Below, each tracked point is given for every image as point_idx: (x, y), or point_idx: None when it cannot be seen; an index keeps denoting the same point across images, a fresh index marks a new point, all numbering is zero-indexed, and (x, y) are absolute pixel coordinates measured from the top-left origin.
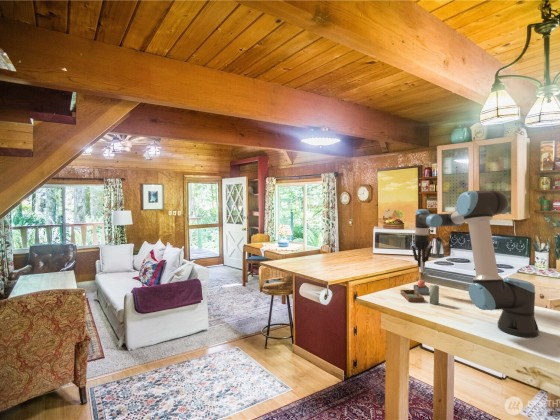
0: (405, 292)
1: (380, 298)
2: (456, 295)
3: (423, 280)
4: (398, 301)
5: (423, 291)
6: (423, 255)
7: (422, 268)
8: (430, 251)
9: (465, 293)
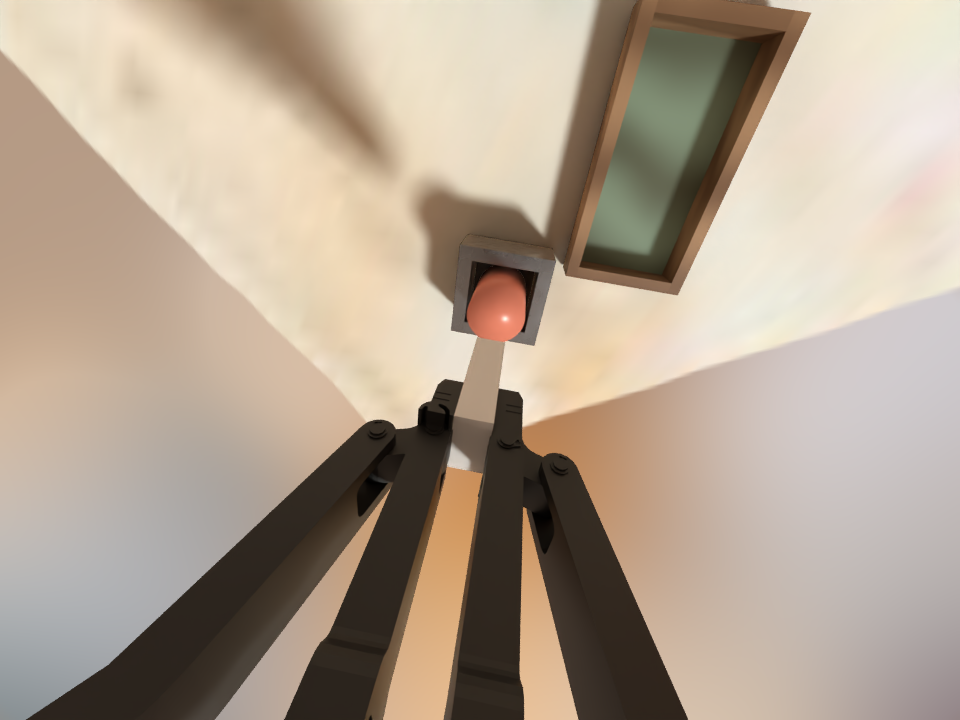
0: (639, 273)
1: (933, 194)
2: (283, 188)
3: (471, 322)
4: (852, 76)
5: (507, 246)
6: (420, 521)
7: (479, 362)
8: (184, 593)
9: (213, 225)
